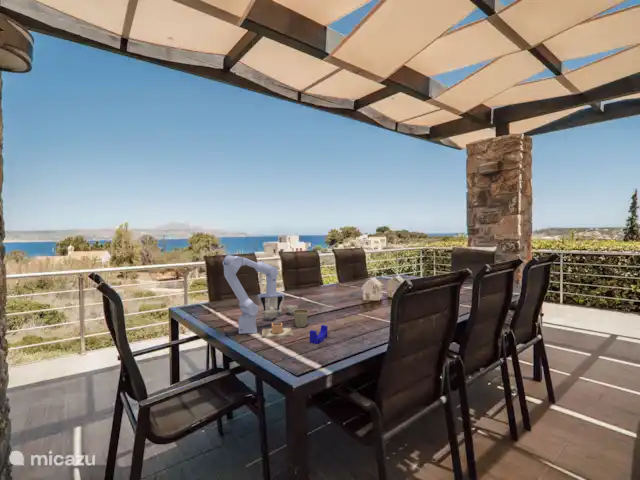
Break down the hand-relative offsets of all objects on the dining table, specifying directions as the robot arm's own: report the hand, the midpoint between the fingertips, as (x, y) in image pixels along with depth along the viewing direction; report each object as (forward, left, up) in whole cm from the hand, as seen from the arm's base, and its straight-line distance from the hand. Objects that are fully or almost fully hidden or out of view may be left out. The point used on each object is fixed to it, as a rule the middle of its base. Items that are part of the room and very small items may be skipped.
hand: (271, 310), depth 191 cm
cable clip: (+25, -27, -10) cm, 38 cm away
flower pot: (+17, -2, -10) cm, 20 cm away
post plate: (+3, -14, -9) cm, 17 cm away
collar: (+3, -14, -8) cm, 17 cm away
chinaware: (+4, +21, -10) cm, 24 cm away
